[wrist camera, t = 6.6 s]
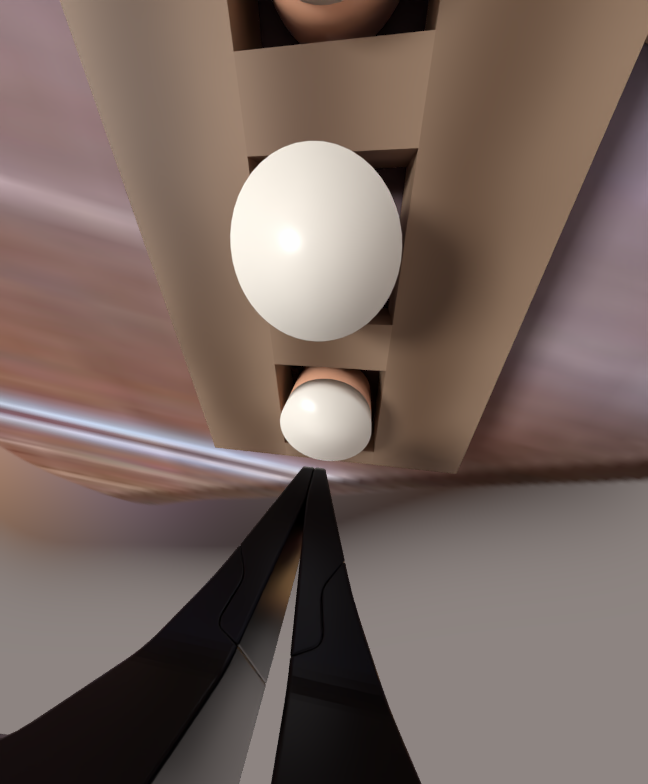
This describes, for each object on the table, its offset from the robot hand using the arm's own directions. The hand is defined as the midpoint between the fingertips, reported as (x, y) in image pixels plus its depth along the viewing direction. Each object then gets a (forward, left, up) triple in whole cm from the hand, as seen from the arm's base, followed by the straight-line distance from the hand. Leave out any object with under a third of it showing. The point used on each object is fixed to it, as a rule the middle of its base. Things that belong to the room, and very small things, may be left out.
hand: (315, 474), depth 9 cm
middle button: (0, -7, -4) cm, 8 cm away
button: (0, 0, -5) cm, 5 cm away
